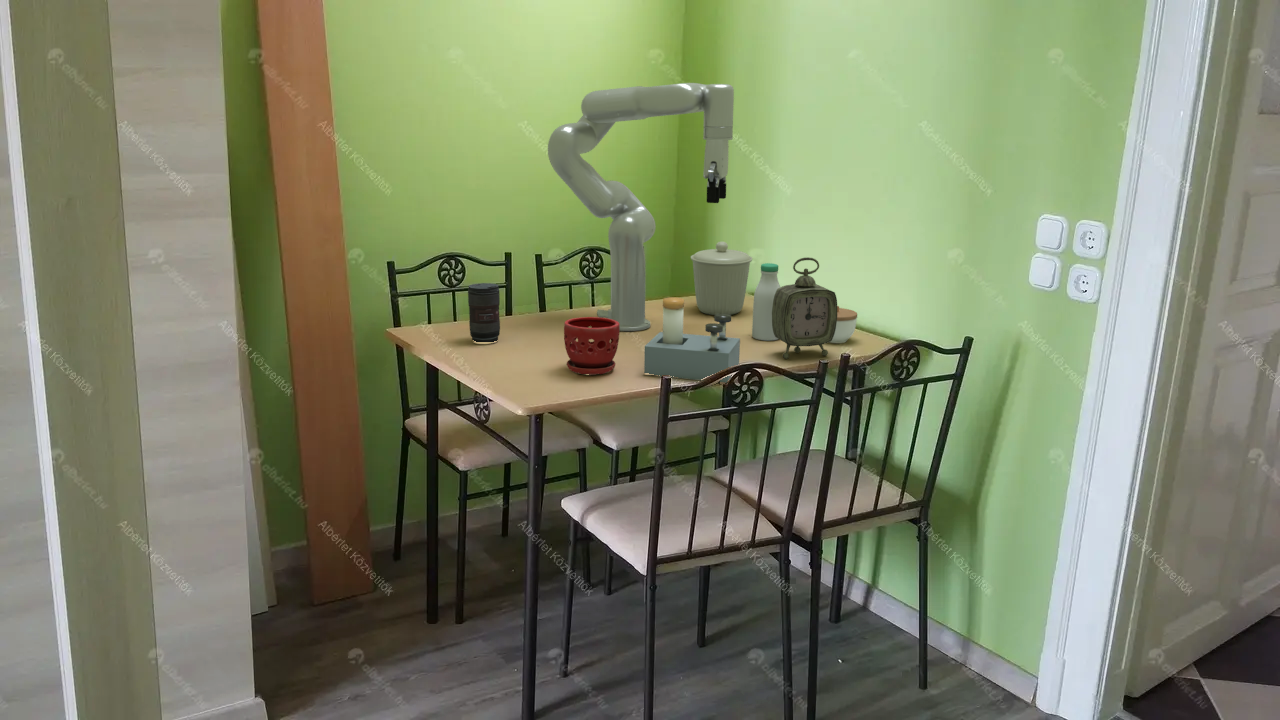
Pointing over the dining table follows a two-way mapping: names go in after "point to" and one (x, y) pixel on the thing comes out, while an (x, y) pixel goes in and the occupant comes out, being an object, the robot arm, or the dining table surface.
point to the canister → (720, 279)
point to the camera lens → (484, 312)
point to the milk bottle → (765, 303)
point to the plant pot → (591, 344)
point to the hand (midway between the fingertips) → (716, 200)
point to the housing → (690, 357)
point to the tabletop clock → (804, 313)
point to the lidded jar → (844, 325)
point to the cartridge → (673, 320)
